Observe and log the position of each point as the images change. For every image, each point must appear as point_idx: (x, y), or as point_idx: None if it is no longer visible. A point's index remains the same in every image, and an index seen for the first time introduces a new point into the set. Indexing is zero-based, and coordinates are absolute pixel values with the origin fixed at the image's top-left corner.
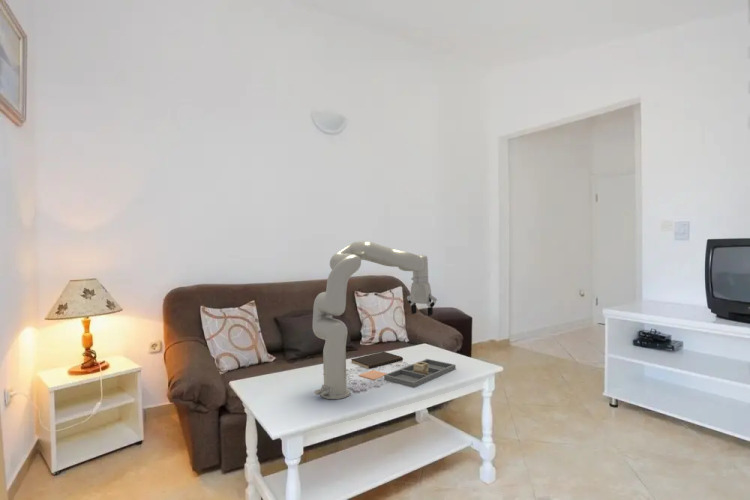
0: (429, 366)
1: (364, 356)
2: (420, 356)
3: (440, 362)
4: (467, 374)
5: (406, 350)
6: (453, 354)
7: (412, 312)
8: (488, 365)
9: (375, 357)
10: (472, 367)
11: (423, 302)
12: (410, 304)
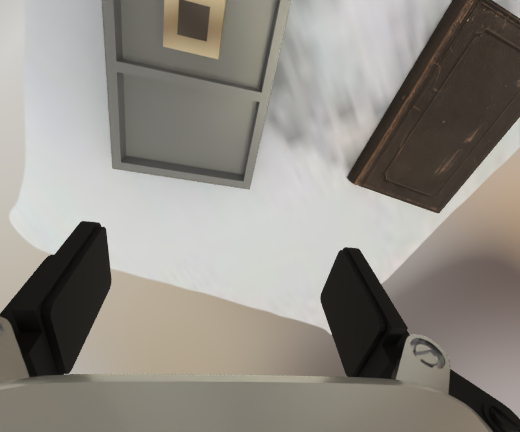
0: (220, 145)
1: (509, 122)
2: (303, 240)
3: (181, 171)
4: (44, 127)
5: None
6: (217, 295)
7: (352, 257)
8: None
9: (459, 130)
10: (88, 210)
11: (34, 407)
12: (440, 361)
